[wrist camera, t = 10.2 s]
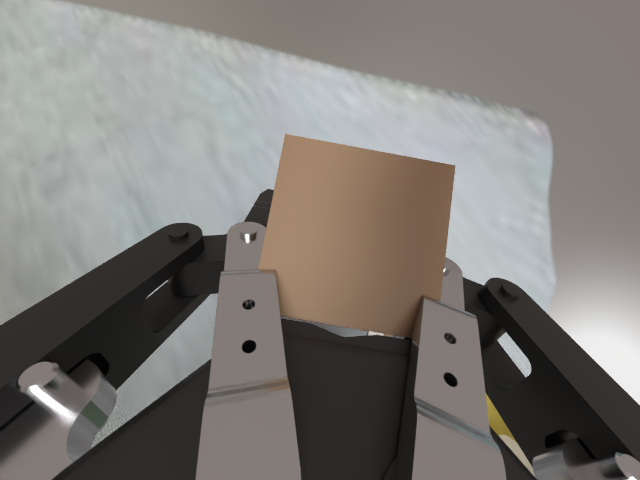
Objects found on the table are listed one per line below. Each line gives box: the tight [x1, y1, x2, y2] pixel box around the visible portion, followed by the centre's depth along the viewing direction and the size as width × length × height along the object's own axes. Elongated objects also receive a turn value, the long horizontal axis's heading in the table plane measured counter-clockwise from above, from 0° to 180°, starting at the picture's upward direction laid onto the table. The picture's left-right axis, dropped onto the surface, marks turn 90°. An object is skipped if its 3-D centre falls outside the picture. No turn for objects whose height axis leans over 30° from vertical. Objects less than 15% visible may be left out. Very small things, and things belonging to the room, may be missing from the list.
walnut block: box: [258, 134, 455, 338], centre depth 11 cm, size 4×4×10 cm
